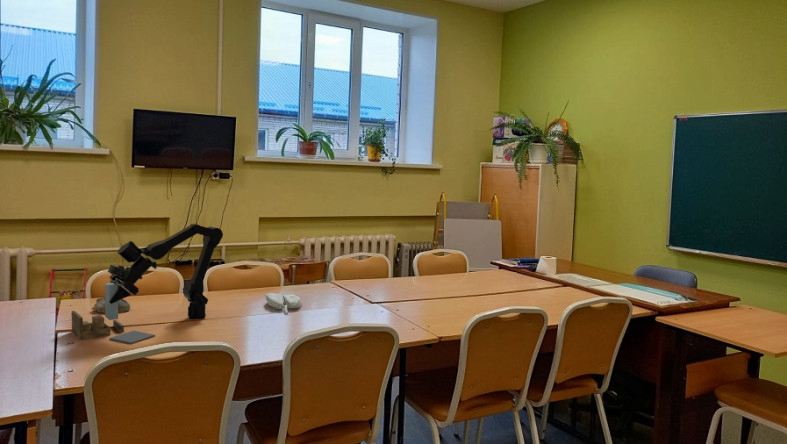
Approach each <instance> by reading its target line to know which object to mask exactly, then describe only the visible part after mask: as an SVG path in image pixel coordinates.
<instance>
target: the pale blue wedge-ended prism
mask: <svg viewBox="0 0 787 444" xmlns="http://www.w3.org/2000/svg"><path fill="white" fill-rule="evenodd" d="M117 290H118V285H116V284H114V283H111V282H108V283H104V297H105V313H104V318H105V319H107V320H109V321H113V320H119V312H118V301H117V302H114V303H112V304H111V303H109V301H110V300H111V298H112V297H113V296H114V294H115V293H116V292H117Z"/></svg>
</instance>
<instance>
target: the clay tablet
mask: <svg viewBox="0 0 787 444" xmlns="http://www.w3.org/2000/svg"><path fill="white" fill-rule="evenodd" d="M104 298H105V296H101V297H99V298H97V299H96V300H95V301H96V302H95V304H93V305H94V306H93V307H94V310H95V311H97V313H104V314H105V299H104ZM130 310H131V303H129V302H128V301H127V300H126V299H125V298H123V299H121V300H119V301H118V313H124V312H127V313H128V312H129V311H130Z"/></svg>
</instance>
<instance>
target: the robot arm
mask: <svg viewBox="0 0 787 444" xmlns="http://www.w3.org/2000/svg"><path fill="white" fill-rule="evenodd" d="M195 235H200V236H202V244H203V245H202V249H201V252H200V254H199V257H198V260H197V262H196V266H195V269H194V272H193V275H192V277H191V279H190V280H185V281H184V286H183V288H182V292H183V293H182V294H183V297H184V298H185V299H187V301H188V303H189V304H188V306H187V317H188V319H189V320H198V319H200V320H201V319H203V320H205V319H206V317H207V313H206V310H207V309H206V306H207V305H208V302H209V298H207V297H206V296H205V295H204V285H205V284H204V280H205V277H206V274H207V271H208V268H209V265H210V263H211V259H212V256H213V254H214V250H215V249H216V248H217V246H219V244H220V243H221V241H222V239H223V237H224V233H223V231H222V229H221V228H219V227H215V226H207V227H206V226H202V225H200V224H196V223H191V224H189V225H188V226H187V227H184V228H182V229H181V230H179V231H177V232H176V233H174V234H172V235H170V236H169V237H168V238H165V239H162V240H158V241H156V242H155V241H154V242H152V243H150V244H148V245H146V246H145V247H141V248H140V247H138V246H137V245H136V243H135V242H133V241H132V240H129V241H128V242H126V243H124V244H123V245H122V246H120V247H119V249H118V250H117V252H116V253H117V255H119V256H120V257H121V258H122V259H124V260H125V261H126V262H127V263H129V264H130V263H132V264H131V265H130V266H126V267H125V266H123V265H118V266H117V265H115V264H110V266H109V268H108V270H107V273H109V274H111V275H110V276H108V278H109V283H114V284H116V285H118V290H117V292H116V293H115V294H114V296H113V297H112V298H111V300H110V301H109V303H111V304H112V303H114V302H117V301H119V300H121V299H125V298H128V297H130V296H132V295H134V296H137V294H138V293H139V290H140V288H139V287H137V286H136V285H135V284H137V282H138V281H139V280H142V279H143V278H144V277H143V276H144V275H145V273H147V271H148V270H149V269H151V268H152V269H154V270H157V269H158V268H157V264H158V263H157V261H158V260H160V259H163V258H164V257H165V256H166V255H168V253H169V252H170V251H171V250H172V249H173V248H175V247H176V246H179V245H180V244H182V243H183V242H185V241H187V240H189V239H190V238H192V237H193V236H195ZM144 256H145V257H144ZM152 259H153V261H152ZM154 260H157V261H154ZM104 299H105V298H104Z"/></svg>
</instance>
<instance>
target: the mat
mask: <svg viewBox="0 0 787 444" xmlns="http://www.w3.org/2000/svg"><path fill="white" fill-rule="evenodd" d="M154 337H156V334H153V333H148V332H143V331H138V330H130V331H128V332H123V333H121V334H118V335H114V336H110V337H109V338H108V339H109V341H114V342H120V343H124V344H130V345H133V344H136V343H140V342H143V341H145V339H146V340H148V338H149V339H151V338H154ZM142 340H143V341H142Z"/></svg>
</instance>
